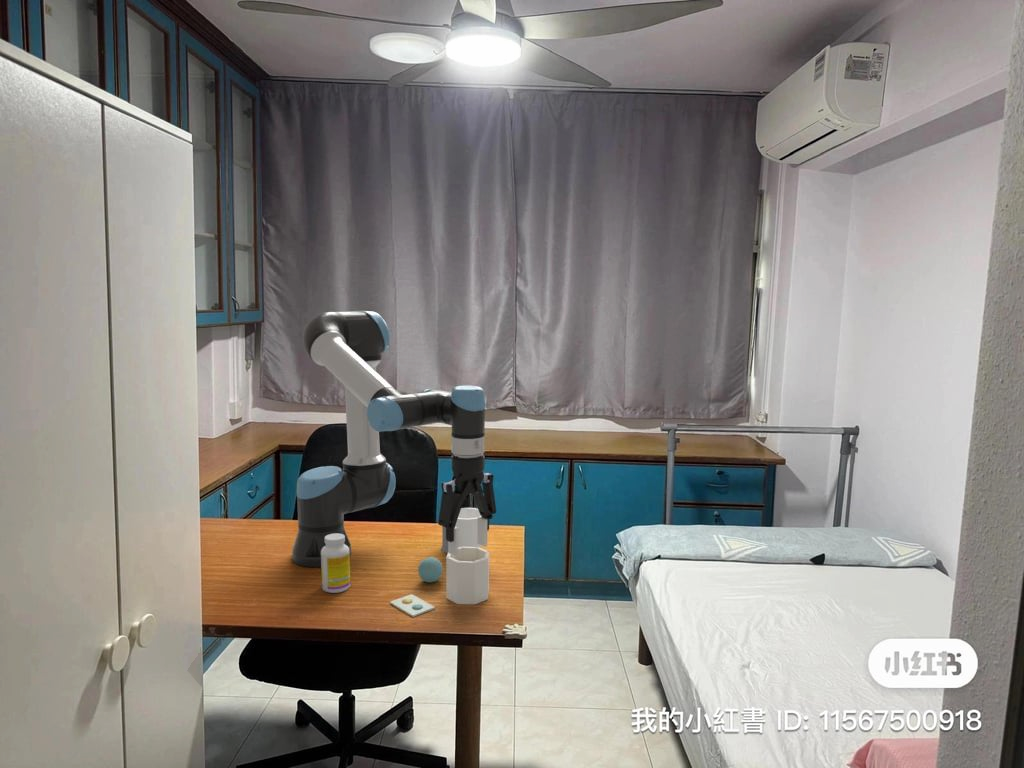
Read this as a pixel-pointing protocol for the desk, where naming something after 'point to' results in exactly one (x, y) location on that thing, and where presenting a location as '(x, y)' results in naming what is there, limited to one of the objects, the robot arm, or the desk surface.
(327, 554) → the supplement bottle
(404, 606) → the card
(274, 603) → the desk surface
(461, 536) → the foam cup
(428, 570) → the ball teal
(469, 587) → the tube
